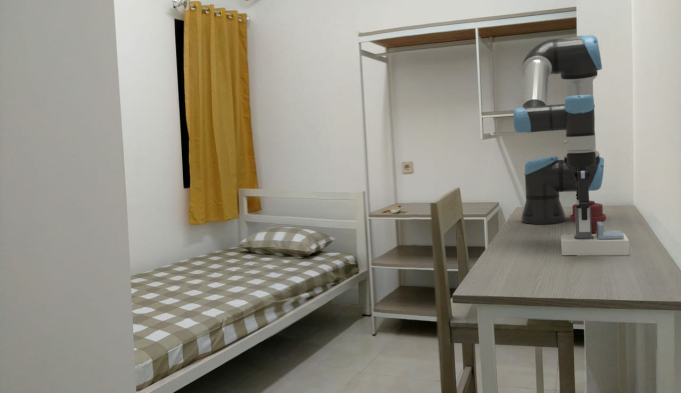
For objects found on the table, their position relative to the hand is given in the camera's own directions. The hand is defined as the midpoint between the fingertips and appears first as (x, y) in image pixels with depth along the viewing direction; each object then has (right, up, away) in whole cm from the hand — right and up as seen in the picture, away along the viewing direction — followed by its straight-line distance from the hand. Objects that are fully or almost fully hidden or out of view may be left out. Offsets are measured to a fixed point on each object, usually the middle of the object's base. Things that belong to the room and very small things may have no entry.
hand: (583, 227), depth 173 cm
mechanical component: (+7, -5, +13) cm, 15 cm away
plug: (+1, -7, +1) cm, 7 cm away
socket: (+3, -7, 0) cm, 7 cm away
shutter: (+7, -2, -2) cm, 7 cm away
